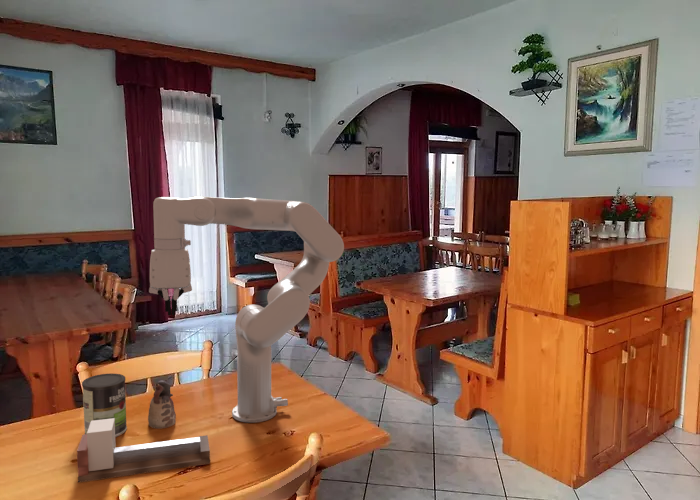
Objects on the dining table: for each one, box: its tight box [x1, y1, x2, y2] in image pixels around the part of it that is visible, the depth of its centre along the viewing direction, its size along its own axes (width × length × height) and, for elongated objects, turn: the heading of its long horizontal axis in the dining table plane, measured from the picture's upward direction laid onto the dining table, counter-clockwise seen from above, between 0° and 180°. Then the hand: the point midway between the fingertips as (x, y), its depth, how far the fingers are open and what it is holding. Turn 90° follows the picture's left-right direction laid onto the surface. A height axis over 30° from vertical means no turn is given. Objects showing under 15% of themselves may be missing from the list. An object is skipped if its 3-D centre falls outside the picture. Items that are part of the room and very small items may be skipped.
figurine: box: [147, 380, 177, 430], centre depth 145 cm, size 7×7×12 cm
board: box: [76, 433, 211, 483], centre depth 124 cm, size 28×9×7 cm, turn 108°
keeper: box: [87, 418, 117, 471], centre depth 121 cm, size 5×6×9 cm
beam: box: [113, 436, 200, 465], centre depth 124 cm, size 24×2×3 cm, turn 108°
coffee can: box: [81, 372, 128, 438], centre depth 139 cm, size 10×10×14 cm
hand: (171, 314), depth 140 cm, fingers closed
